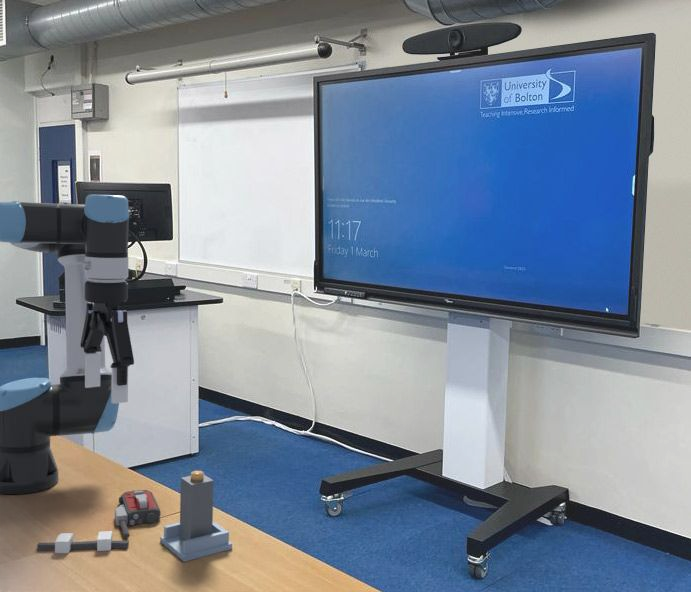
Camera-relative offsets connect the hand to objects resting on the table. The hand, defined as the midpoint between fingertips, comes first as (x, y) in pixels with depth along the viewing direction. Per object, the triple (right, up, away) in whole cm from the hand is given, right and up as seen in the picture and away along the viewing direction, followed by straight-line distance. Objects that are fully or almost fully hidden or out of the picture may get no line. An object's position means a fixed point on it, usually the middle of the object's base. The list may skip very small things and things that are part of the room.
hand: (105, 394), depth 142 cm
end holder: (+16, -29, +4) cm, 33 cm away
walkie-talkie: (+2, -28, +15) cm, 32 cm away
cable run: (-4, -29, +1) cm, 29 cm away
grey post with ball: (+16, -28, +4) cm, 33 cm away
